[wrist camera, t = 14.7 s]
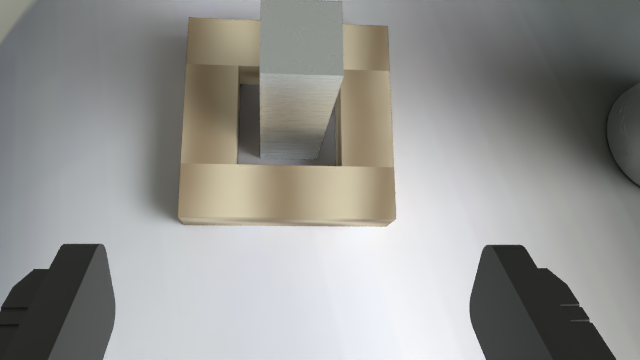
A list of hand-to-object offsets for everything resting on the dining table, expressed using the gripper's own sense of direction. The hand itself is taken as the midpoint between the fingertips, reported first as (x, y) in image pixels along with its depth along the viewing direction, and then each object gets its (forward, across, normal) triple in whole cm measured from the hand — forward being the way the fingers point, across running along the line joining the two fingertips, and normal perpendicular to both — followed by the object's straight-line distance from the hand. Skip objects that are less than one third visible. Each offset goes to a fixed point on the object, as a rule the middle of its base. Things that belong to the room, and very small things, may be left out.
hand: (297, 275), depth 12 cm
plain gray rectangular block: (+27, -1, +10) cm, 29 cm away
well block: (+27, -1, +10) cm, 29 cm away
